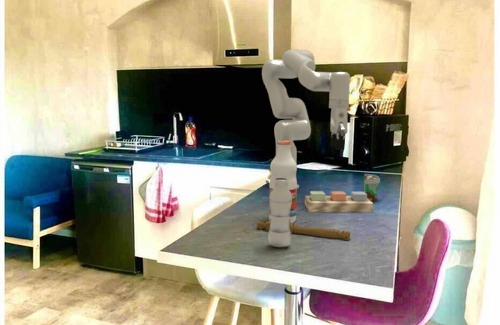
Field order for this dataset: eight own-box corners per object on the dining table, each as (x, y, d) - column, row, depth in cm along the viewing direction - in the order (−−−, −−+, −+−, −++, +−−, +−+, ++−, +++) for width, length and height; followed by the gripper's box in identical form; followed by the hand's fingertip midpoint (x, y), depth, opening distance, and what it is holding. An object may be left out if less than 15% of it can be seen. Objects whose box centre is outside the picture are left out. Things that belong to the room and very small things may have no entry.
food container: (380, 204, 183) (381, 179, 182) (364, 203, 185) (365, 179, 183) (378, 197, 195) (379, 174, 194) (363, 196, 197) (364, 173, 195)
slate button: (353, 203, 173) (354, 194, 173) (350, 200, 178) (351, 191, 178) (366, 203, 174) (367, 194, 173) (363, 200, 178) (363, 191, 178)
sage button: (311, 203, 173) (312, 194, 173) (310, 199, 178) (310, 191, 178) (324, 203, 173) (325, 194, 173) (322, 200, 178) (323, 191, 178)
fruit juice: (272, 216, 164) (274, 139, 160) (298, 218, 161) (300, 140, 157) (265, 223, 155) (267, 141, 151) (292, 226, 152) (295, 143, 148)
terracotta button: (332, 203, 173) (333, 194, 173) (330, 200, 178) (330, 191, 178) (345, 203, 173) (346, 194, 173) (343, 200, 178) (343, 191, 178)
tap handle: (349, 232, 137) (255, 221, 148) (348, 242, 138) (255, 230, 148) (350, 229, 140) (258, 219, 150) (350, 239, 141) (258, 227, 151)
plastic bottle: (266, 242, 135) (267, 176, 132) (289, 242, 136) (290, 176, 133) (269, 250, 129) (270, 181, 126) (292, 249, 130) (294, 181, 126)
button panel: (309, 212, 170) (309, 202, 170) (304, 204, 182) (305, 195, 181) (372, 212, 170) (373, 203, 170) (364, 204, 182) (364, 196, 182)
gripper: (353, 105, 169) (352, 150, 171) (343, 104, 186) (341, 145, 188) (333, 104, 168) (332, 150, 171) (325, 103, 186) (323, 145, 188)
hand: (337, 148), depth 180 cm, fingers open, 9 cm apart
